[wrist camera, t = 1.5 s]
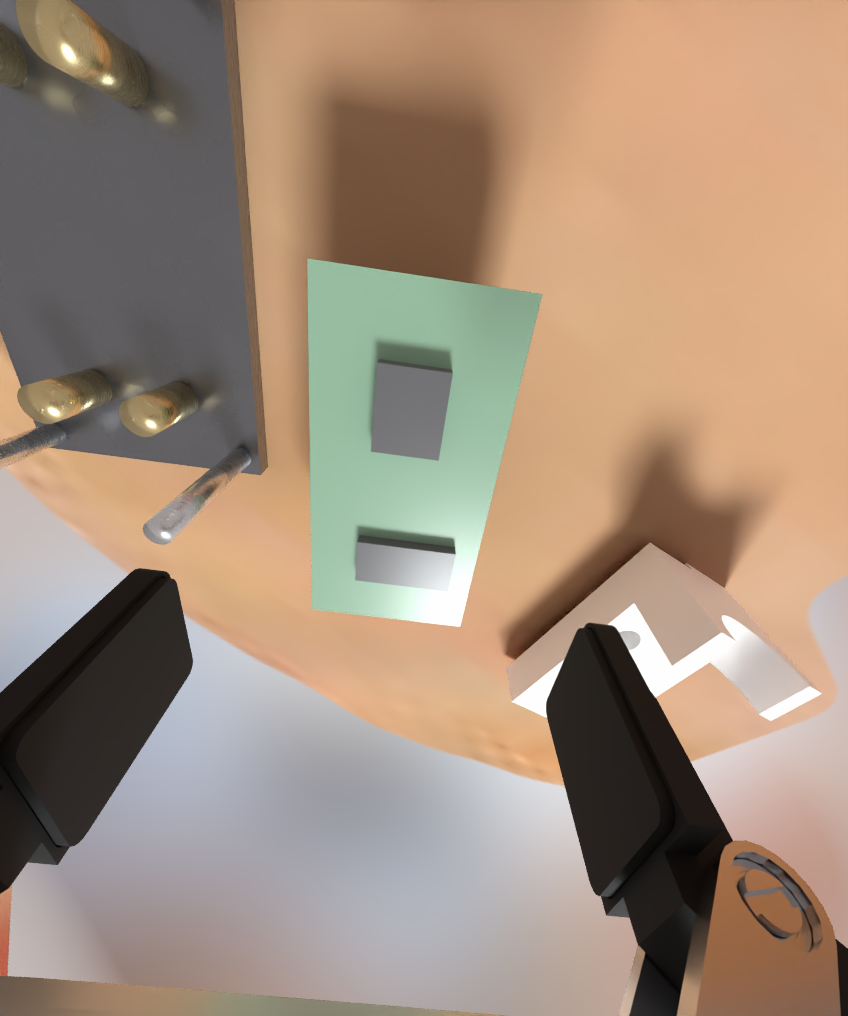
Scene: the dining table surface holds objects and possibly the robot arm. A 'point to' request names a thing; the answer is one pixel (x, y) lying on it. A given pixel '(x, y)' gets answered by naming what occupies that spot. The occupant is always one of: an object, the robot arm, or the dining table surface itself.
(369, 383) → the board
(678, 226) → the dining table surface
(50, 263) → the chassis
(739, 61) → the dining table surface
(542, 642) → the bracket
